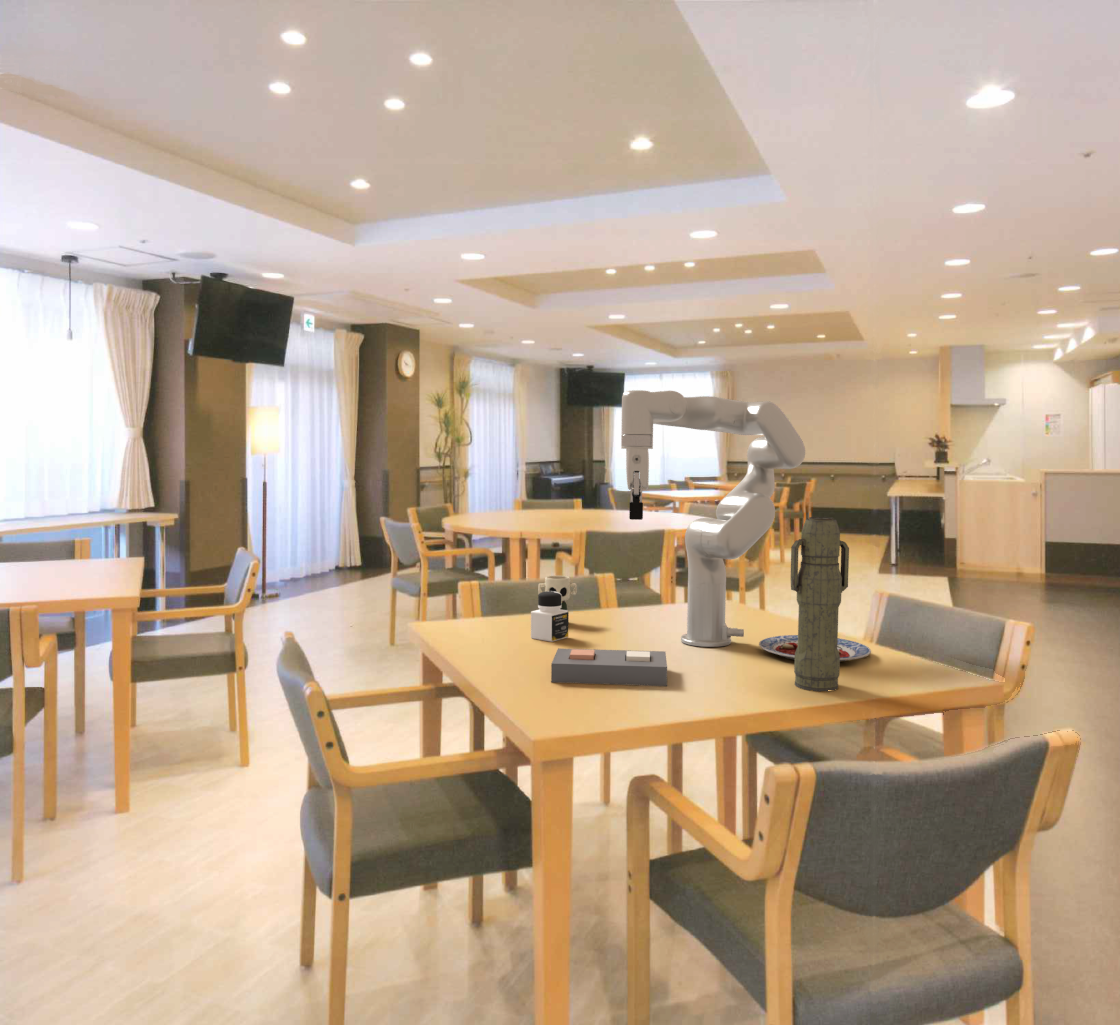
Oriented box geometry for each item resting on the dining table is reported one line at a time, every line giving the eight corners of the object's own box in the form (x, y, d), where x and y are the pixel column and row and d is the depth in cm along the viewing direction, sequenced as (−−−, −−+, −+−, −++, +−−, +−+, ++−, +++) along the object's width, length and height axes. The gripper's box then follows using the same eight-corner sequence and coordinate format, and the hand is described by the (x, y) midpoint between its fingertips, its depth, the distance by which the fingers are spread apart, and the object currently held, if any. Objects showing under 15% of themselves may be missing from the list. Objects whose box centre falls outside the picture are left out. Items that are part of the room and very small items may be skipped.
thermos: (854, 689, 176) (859, 519, 174) (802, 693, 173) (806, 519, 171) (830, 678, 185) (835, 515, 183) (780, 681, 182) (784, 516, 180)
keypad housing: (665, 669, 192) (665, 651, 192) (666, 685, 178) (667, 666, 178) (557, 665, 194) (557, 648, 194) (551, 682, 180) (551, 663, 180)
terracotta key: (594, 663, 189) (594, 649, 189) (593, 669, 184) (593, 655, 184) (571, 662, 189) (571, 649, 189) (569, 668, 184) (569, 654, 184)
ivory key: (649, 665, 188) (649, 651, 188) (649, 670, 183) (649, 656, 183) (626, 664, 188) (626, 650, 188) (626, 670, 183) (626, 656, 183)
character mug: (538, 625, 240) (538, 579, 239) (537, 620, 247) (537, 575, 246) (577, 625, 240) (578, 579, 239) (575, 620, 247) (576, 575, 246)
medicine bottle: (552, 642, 219) (552, 595, 218) (530, 638, 223) (530, 592, 222) (568, 637, 224) (569, 591, 224) (547, 633, 229) (547, 589, 228)
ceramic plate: (806, 673, 191) (806, 659, 190) (737, 648, 214) (737, 636, 214) (895, 662, 201) (895, 649, 201) (820, 640, 225) (820, 628, 224)
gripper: (653, 442, 198) (652, 522, 200) (652, 443, 213) (651, 517, 215) (620, 442, 199) (619, 521, 200) (622, 443, 214) (621, 516, 215)
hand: (636, 519), depth 207 cm, fingers closed
